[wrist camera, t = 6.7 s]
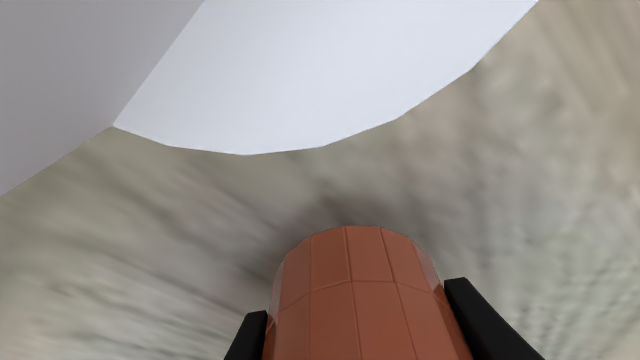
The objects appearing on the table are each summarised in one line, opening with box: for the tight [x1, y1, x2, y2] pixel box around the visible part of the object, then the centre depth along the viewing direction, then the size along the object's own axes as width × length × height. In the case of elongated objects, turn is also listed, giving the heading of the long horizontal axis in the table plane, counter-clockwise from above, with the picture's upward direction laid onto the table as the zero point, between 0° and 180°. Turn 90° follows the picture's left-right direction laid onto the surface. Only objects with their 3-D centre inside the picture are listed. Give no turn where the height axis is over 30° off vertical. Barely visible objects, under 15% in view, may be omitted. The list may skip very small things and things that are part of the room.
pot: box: [262, 225, 474, 360], centre depth 10 cm, size 6×6×5 cm
